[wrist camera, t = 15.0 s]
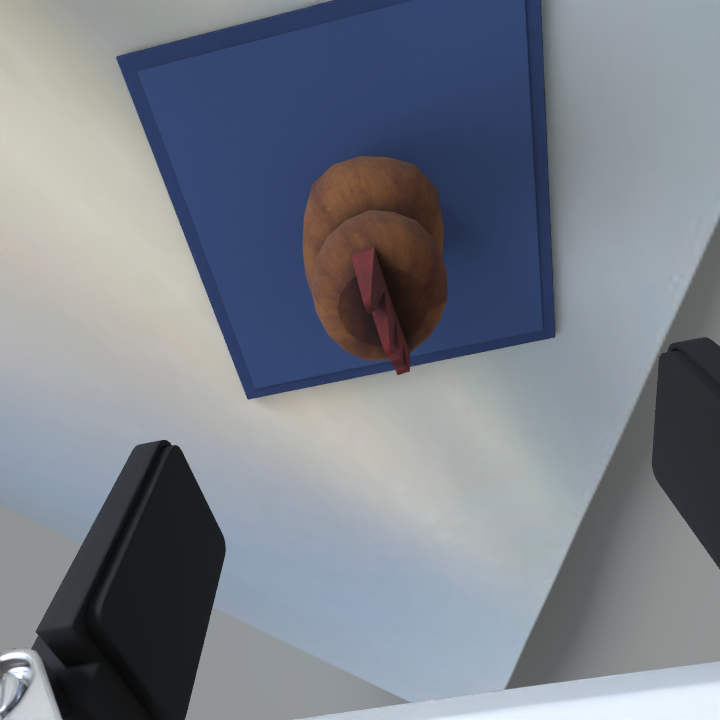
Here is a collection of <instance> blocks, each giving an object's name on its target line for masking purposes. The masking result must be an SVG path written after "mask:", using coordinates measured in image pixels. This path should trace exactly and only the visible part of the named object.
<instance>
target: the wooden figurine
mask: <svg viewBox="0 0 720 720" xmlns="http://www.w3.org/2000/svg"><path fill="white" fill-rule="evenodd" d="M443 232H444V225H443V220H442V214H441V208H440V202H439V194H438V190H437V188H436V187H435V186H434V184H433V183H432V182H431V181H430V180H429V179H428V178H427V177H426V176H425V175H424V174H423V173H422V172H421V171H420V170H419V169H418V168H417V167H416V166H415V165H414V164H412V163H408V162H405V161H401V160H397V159H393V158H390V157H373V156H359V157H356V158H353V159H350V160H346V161H343V162H340V163H337V164H334V165H332V166H331V167H330V168H329V169H328V170H327V171H326V172H325V173H324V174H323V175H321V176H320V177H319V178H318V179H317V180H316V181H315V182H314V183H313V184H312V187H311V190H310V194H309V198H308V202H307V206H306V210H305V214H304V225H303V257H304V265H305V274H306V278H307V281H308V284H309V287H310V290H311V293H312V296H313V300H314V305H315V310H316V313H317V315H318V317H319V319H320V320H321V322H322V324H323V326H324V328H325V330H326V332H327V333H328V335H329V336H330V337H331V338H332V339H333V340H334V341H335V342H336V343H337V344H338V345H339V346H340V347H341V348H343V349H344V350H345V351H346V352H348V353H350V354H352V355H355V356H357V357H359V358H361V359H363V360H365V361H384V360H390V361H391V363H392V365H393V366H394V367H395V370H396V372H397V375H400V374H403V373H406V372H409V371H410V353H411V352H413V351H414V350H415V349H416V348H417V347H419V346H420V345H421V344H422V343H423V342H425V341H426V340H427V339H428V338H429V337H430V335H431V334H432V332H433V331H434V329H435V328H436V326H437V325H438V323H439V322H440V320H441V317H442V314H443V311H444V308H445V305H446V302H447V296H448V285H447V271H446V268H445V265H444V262H443V259H442V255H443Z"/></svg>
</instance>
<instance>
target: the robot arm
mask: <svg viewBox="0 0 720 720" xmlns="http://www.w3.org/2000/svg"><path fill="white" fill-rule="evenodd" d="M652 468H653V472H654V475H655V477H656V480H657V481H658V483H659V484H660V486H661V487H662V489H663V490H664V491H665V493H666V494H667V496H668V497H669V499H670V500H671V501H672V503H673V504H674V505H675V507H676V508H677V510H678V511H679V513H680V514H681V515H682V517H683V518H684V519H685V521H686V522H687V524H688V525H689V527H690V528H691V529H692V531H693V532H694V534H695V535H696V536H697V538H698V539H699V541H700V542H701V543H702V545H703V546H704V548H705V549H706V550H707V552H708V553H709V555H710V556H711V558H712V559H713V560H714V562H715V563H716V565H717V566H718V567H719V569H720V346H718V345H717V344H716V343H715V342H713V341H712V340H710V339H709V338H705V337H704V338H698V339H692V340H687V341H682V342H677V343H673V344H671V345H670V346H669V348H668V352H666V353H662V354H661V356H660V359H659V367H658V382H657V396H656V410H655V426H654V441H653V454H652ZM225 551H226V547H225V540H224V537H223V534H222V532H221V530H220V528H219V526H218V524H217V522H216V520H215V518H214V516H213V514H212V512H211V510H210V508H209V506H208V504H207V502H206V500H205V498H204V495H203V493H202V491H201V489H200V487H199V485H198V483H197V481H196V479H195V477H194V475H193V473H192V471H191V469H190V467H189V465H188V463H187V461H186V459H185V457H184V455H183V453H182V451H181V449H180V447H178V446H177V445H173V446H172V445H171V443H170V442H168V441H167V440H161V441H156V442H150V443H145V444H140V445H137V446H135V448H134V449H133V451H132V452H131V454H130V456H129V458H128V460H127V462H126V464H125V466H124V467H123V469H122V471H121V473H120V475H119V477H118V479H117V481H116V482H115V484H114V486H113V488H112V490H111V492H110V494H109V495H108V497H107V499H106V501H105V503H104V505H103V507H102V509H101V510H100V512H99V514H98V516H97V518H96V520H95V522H94V523H93V525H92V527H91V529H90V531H89V533H88V535H87V537H86V538H85V540H84V542H83V544H82V546H81V548H80V550H79V551H78V553H77V555H76V557H75V559H74V561H73V563H72V565H71V566H70V568H69V570H68V572H67V574H66V576H65V578H64V580H63V581H62V584H61V585H60V587H59V589H58V591H57V593H56V594H55V596H54V598H53V600H52V602H51V604H50V606H49V607H48V609H47V611H46V613H45V615H44V617H43V619H42V621H41V622H40V624H39V626H38V628H37V630H36V633H37V634H38V637H37V639H36V641H35V643H34V645H33V647H32V649H29V648H14V649H11V650H8V651H5V652H2V653H0V720H185V717H186V713H187V710H188V706H189V701H190V697H191V693H192V689H193V685H194V681H195V677H196V672H197V668H198V664H199V660H200V656H201V652H202V648H203V644H204V639H205V636H206V632H207V627H208V623H209V619H210V615H211V610H212V607H213V603H214V599H215V595H216V590H217V586H218V582H219V578H220V574H221V570H222V566H223V562H224V557H225ZM293 720H720V661H718V662H710V663H702V664H695V665H687V666H680V667H672V668H665V669H657V670H650V671H642V672H634V673H627V674H619V675H612V676H604V677H597V678H589V679H581V680H574V681H567V682H559V683H551V684H544V685H537V686H530V687H522V688H515V689H508V690H500V691H493V692H486V693H478V694H471V695H464V696H457V697H449V698H442V699H435V700H428V701H421V702H413V703H406V704H399V705H392V706H384V707H378V708H370V709H363V710H356V711H349V712H342V713H335V714H328V715H321V716H314V717H307V718H300V719H293Z"/></svg>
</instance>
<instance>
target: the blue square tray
mask: <svg viewBox="0 0 720 720" xmlns="http://www.w3.org/2000/svg"><path fill="white" fill-rule="evenodd" d="M116 58H117V61H118V64H119V66H120V69H121V71H122V74H123V77H124V79H125V82H126V84H127V87H128V90H129V92H130V95H131V97H132V100H133V103H134V105H135V108H136V110H137V113H138V116H139V118H140V121H141V123H142V126H143V129H144V131H145V134H146V136H147V139H148V142H149V144H150V147H151V149H152V152H153V155H154V157H155V160H156V162H157V165H158V168H159V170H160V173H161V175H162V178H163V180H164V183H165V186H166V188H167V191H168V193H169V196H170V199H171V201H172V204H173V206H174V209H175V212H176V214H177V217H178V219H179V222H180V225H181V227H182V230H183V232H184V235H185V238H186V240H187V243H188V245H189V248H190V251H191V253H192V256H193V258H194V261H195V264H196V266H197V269H198V271H199V274H200V277H201V279H202V282H203V284H204V287H205V290H206V292H207V295H208V297H209V300H210V303H211V305H212V308H213V310H214V313H215V316H216V318H217V321H218V323H219V326H220V329H221V331H222V334H223V336H224V339H225V342H226V344H227V347H228V349H229V352H230V355H231V357H232V360H233V362H234V365H235V368H236V370H237V373H238V375H239V378H240V381H241V383H242V386H243V388H244V391H245V393H246V396H247V399H253V398H258V397H263V396H268V395H273V394H278V393H282V392H287V391H292V390H297V389H302V388H307V387H312V386H317V385H322V384H327V383H332V382H337V381H342V380H347V379H352V378H356V377H361V376H366V375H371V374H376V373H381V372H386V371H391V370H395V367H394V366H393V365H392V363H391V361H390V360H384V361H365V360H363V359H361V358H359V357H357V356H355V355H352V354H350V353H348V352H346V351H345V350H344V349H343V348H341V347H340V346H339V345H338V344H337V343H336V342H335V341H334V340H333V339H332V338H331V337H330V336H329V335H328V333H327V332H326V330H325V328H324V326H323V324H322V322H321V320H320V319H319V317H318V315H317V313H316V310H315V305H314V300H313V296H312V293H311V290H310V287H309V284H308V281H307V278H306V274H305V265H304V257H303V225H304V214H305V210H306V206H307V202H308V198H309V194H310V190H311V187H312V184H313V183H314V182H315V181H316V180H317V179H318V178H319V177H320V176H321V175H323V174H324V173H325V172H326V171H327V170H328V169H329V168H330V167H331V166H332V165H334V164H337V163H340V162H343V161H346V160H350V159H353V158H356V157H359V156H373V157H390V158H393V159H397V160H401V161H405V162H408V163H412V164H414V165H415V166H416V167H417V168H418V169H419V170H420V171H421V172H422V173H423V174H424V175H425V176H426V177H427V178H428V179H429V180H430V181H431V182H432V183H433V184H434V186H435V187H436V188H437V190H438V194H439V202H440V208H441V214H442V220H443V225H444V232H443V255H442V259H443V262H444V265H445V268H446V271H447V285H448V296H447V302H446V305H445V308H444V311H443V314H442V317H441V320H440V322H439V323H438V325H437V326H436V328H435V329H434V331H433V332H432V334H431V335H430V337H429V338H428V339H427V340H426V341H425V342H423V343H422V344H421V345H420V346H419V347H417V348H416V349H415V350H414V351H413V352H411V353H410V367H411V366H416V365H421V364H426V363H430V362H435V361H440V360H445V359H450V358H455V357H460V356H465V355H470V354H475V353H480V352H485V351H490V350H495V349H500V348H504V347H509V346H514V345H519V344H524V343H529V342H534V341H539V340H544V339H549V338H554V337H555V318H554V295H553V272H552V248H551V225H550V202H549V179H548V155H547V132H546V109H545V86H544V62H543V39H542V16H541V0H334V1H330V2H326V3H322V4H318V5H314V6H310V7H307V8H303V9H299V10H295V11H291V12H287V13H283V14H279V15H276V16H272V17H268V18H264V19H260V20H256V21H252V22H248V23H245V24H241V25H237V26H233V27H229V28H225V29H221V30H218V31H214V32H210V33H206V34H202V35H198V36H194V37H190V38H187V39H183V40H179V41H175V42H171V43H167V44H163V45H159V46H156V47H152V48H148V49H144V50H140V51H136V52H132V53H128V54H125V55H121V56H117V57H116Z"/></svg>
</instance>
